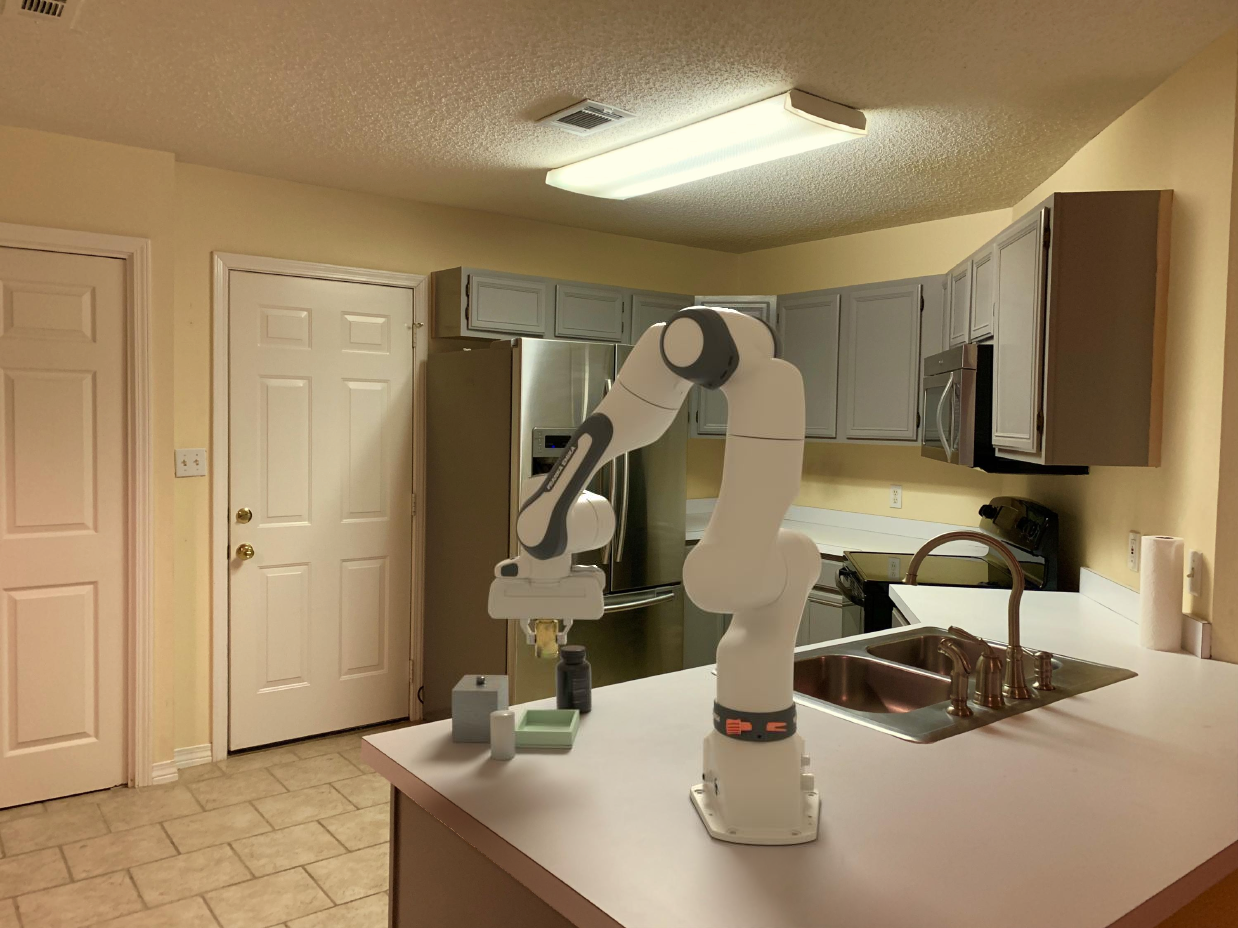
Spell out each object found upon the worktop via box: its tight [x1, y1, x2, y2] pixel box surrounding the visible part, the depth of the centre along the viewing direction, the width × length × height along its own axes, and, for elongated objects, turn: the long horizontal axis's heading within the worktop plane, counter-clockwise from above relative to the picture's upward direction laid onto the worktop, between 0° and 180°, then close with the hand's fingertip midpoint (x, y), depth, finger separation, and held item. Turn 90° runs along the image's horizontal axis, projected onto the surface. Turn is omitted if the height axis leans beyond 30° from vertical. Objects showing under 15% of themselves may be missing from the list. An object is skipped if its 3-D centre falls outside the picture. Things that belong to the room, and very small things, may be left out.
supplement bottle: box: [555, 644, 593, 715], centre depth 173 cm, size 7×7×12 cm
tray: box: [515, 708, 580, 749], centre depth 159 cm, size 12×10×3 cm
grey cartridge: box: [490, 710, 516, 761], centre depth 149 cm, size 4×4×7 cm
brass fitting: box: [534, 619, 559, 659], centre depth 158 cm, size 4×4×7 cm
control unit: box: [451, 674, 510, 744], centre depth 161 cm, size 10×8×10 cm
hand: (546, 643), depth 158 cm, fingers closed on brass fitting, 4 cm apart
